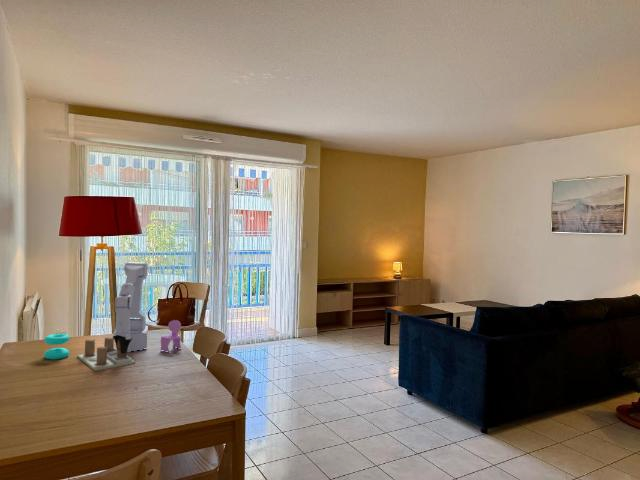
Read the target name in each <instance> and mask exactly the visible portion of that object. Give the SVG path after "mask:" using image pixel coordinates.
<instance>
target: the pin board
mask: <svg viewBox="0 0 640 480" xmlns="http://www.w3.org/2000/svg"><path fill="white" fill-rule="evenodd" d="M114 343H115V340H114V338H113V336H109V337H104V343H103V344H104V346H99V347H97V348H96V347H95V346H96V345H95V344H96V339H94V338H92V339H91V338H90V339H86V340H85V341H84V354H83V353H82V354H77V356H76V357H77V359H79V360H80V361H81V362H82V363H83V364H84V363H85V365H87V367H89V368H91V369H92V370H93V371H101V370H106V369H112V368H116V367H117V368H118V367H122V366H123V365H124V366H128V364H129V365H133V363H135V364H136V361H135V360H134V359H133V358H132V357H130V356H128V355H127V356H126V357H123V358H118V357H117V348H116V347H115V346H114V345H115V344H114ZM95 348H96V352H95Z"/></svg>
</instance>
